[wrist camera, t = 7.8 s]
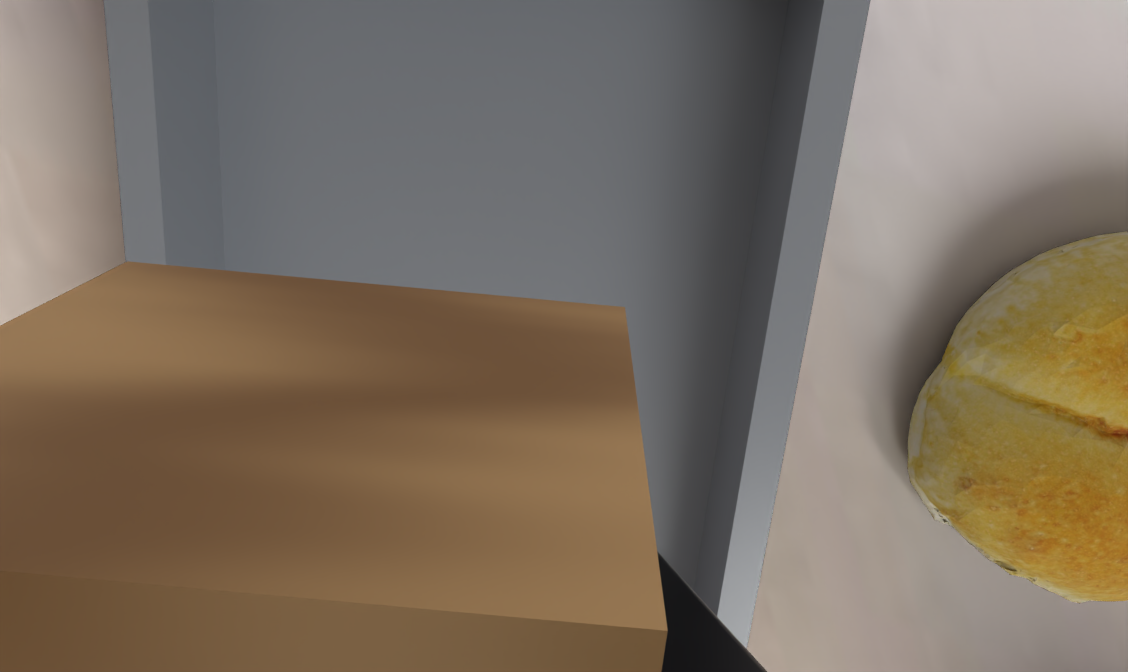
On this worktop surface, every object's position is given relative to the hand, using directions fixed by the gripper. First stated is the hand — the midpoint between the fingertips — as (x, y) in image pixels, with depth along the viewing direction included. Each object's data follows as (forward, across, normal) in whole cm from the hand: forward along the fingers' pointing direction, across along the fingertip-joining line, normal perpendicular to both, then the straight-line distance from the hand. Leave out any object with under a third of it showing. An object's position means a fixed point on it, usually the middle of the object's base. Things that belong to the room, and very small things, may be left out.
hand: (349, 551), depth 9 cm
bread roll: (+13, -15, +3) cm, 20 cm away
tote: (+13, 0, +5) cm, 14 cm away
